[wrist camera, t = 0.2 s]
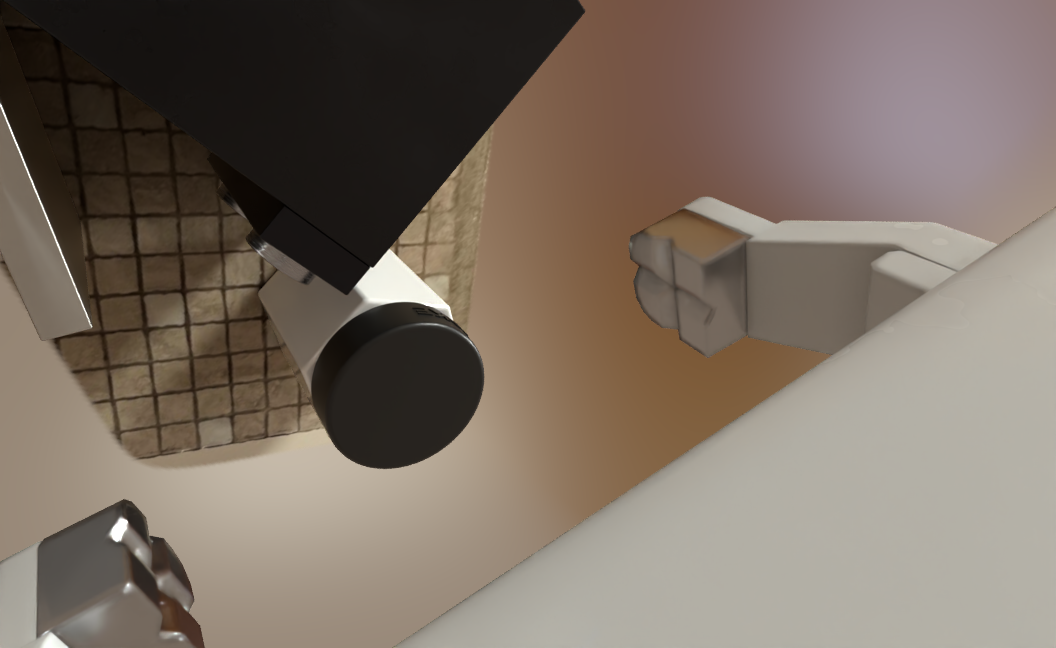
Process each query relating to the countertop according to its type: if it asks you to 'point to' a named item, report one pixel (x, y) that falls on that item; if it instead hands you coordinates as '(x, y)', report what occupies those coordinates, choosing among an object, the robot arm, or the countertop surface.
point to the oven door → (37, 212)
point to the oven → (319, 102)
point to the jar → (378, 362)
